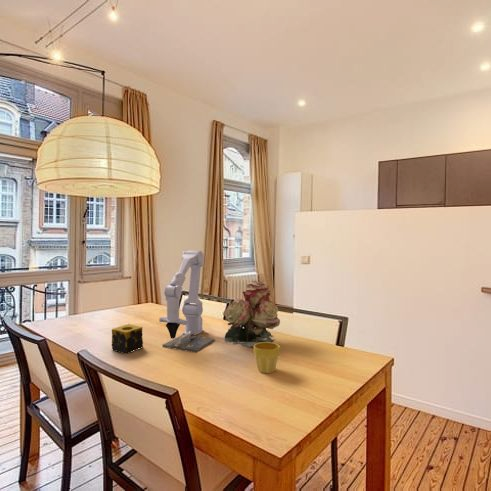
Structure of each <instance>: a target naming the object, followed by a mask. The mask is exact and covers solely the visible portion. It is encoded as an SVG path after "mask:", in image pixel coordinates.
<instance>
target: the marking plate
mask: <svg viewBox="0 0 491 491" xmlns="http://www.w3.org/2000/svg"><path fill="white" fill-rule="evenodd" d="M184 335H185V334H181V335H180V336H178V337H175V338H174V339H171V340H170V341H166V343H163V344H162V347H163V346H165V347H164V348H167V347H171V348H170V349H173V348H176V349H175V350H179V349H182V350H181V351H185V350H187V351H186V352H191V351H192V352H193V353H197V352H198V351H200V350H202V349H203V348H205V347H206V346H208V345H210V344H211V343H213V342H215V338H211V337H205V336H199V335H194V336H191V337H189V338H188V339H186V340H185V341H183V342H182V343H181V345H179V343H178V339H179V338H180V337H182V336H184Z"/></svg>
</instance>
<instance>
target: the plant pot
mask: <svg viewBox="0 0 491 491" xmlns="http://www.w3.org/2000/svg"><path fill="white" fill-rule="evenodd" d="M280 352H281V346H280V345H279V344H278V343H275V342H272V343H271V342H260V343H256V344H255V345H254V346H253V355H254V356H255V361H256V364H257V370H258V372H260V373H263V374H272V373H274V372H275V371H276V366H277V362H278V357H279V356H280V354H281V353H280Z"/></svg>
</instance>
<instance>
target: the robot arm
mask: <svg viewBox="0 0 491 491" xmlns="http://www.w3.org/2000/svg"><path fill="white" fill-rule="evenodd" d="M204 258H205V257H204V253H203V252H202V251H201V250H187V249H186V250H184V251H183V252H182V255H181V260H182V261H181V264H180V267H179V270H178V272H176V273H174V276H173V277H172V279H171V281H170V283H169V284H168V285H167V286H165V288H164V293H163V294H164V296H165V301H166V317H165V316H163V317H161V316H160V317H159V319H158V320H159V323H166V324H165V327H166V328H167V330H168V333H169V336H170V339H171V340H173V339H175V338H177V337H176V336H177V332H178V330H179V327H180V326H181V325H183V326H185V331H183V332H181V333H182V334H181V335H183V334H187V333H188V331H194V336H198V335H199V334H201V333H202V332H204V331H205V330H204V329H203V317H202V314H203V312H204V311H203V310H204V308H203V301H201V299H199V290H200V289H199V288H200V281H201V270H202V267H203V266H204ZM189 269H190V277H189V286H188V287H189V289H188V297H187V298H186V299H185V300H184V301H183V305H182V307H181V308H182V309H181V312H182V315H184V317H185V319H183V318H180V297H181V295H182V290H183V285H184V283H185V281H186V279H187V278H186V274H187V273H188V271H189Z"/></svg>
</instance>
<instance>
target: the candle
mask: <svg viewBox="0 0 491 491" xmlns="http://www.w3.org/2000/svg"><path fill="white" fill-rule="evenodd" d="M143 344H144V341H143V326H139V325H135V324H130V323H128V324H124V325H121V326H117V327H115V328H112V329H111V350H112V349H113V350H112V351H114V350H117V351H120V352H119V353H121V352H123V353H122V354H125V353H127V354H129V353H128V352H130V353H132V352H131V351H133V350H135V351H137V350H136V349H138V348H141V347H143V348H144V345H143ZM141 349H142V348H141ZM138 350H139V349H138ZM117 351H116V352H117ZM133 352H134V351H133Z"/></svg>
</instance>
